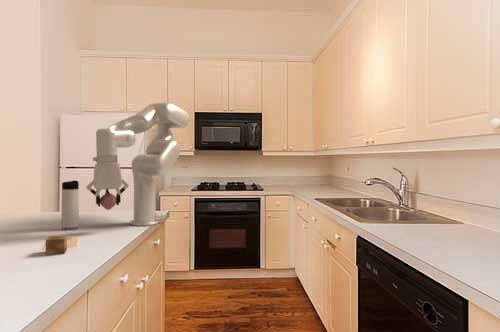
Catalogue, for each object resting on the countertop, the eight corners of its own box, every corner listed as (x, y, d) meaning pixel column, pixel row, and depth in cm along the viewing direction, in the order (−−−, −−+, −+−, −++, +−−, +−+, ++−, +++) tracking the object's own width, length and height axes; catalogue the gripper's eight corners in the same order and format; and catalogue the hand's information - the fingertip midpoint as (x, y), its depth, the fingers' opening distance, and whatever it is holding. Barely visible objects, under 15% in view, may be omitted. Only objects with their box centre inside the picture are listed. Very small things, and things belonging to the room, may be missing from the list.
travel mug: (82, 227, 144) (82, 180, 143) (72, 230, 137) (72, 181, 137) (68, 226, 144) (68, 180, 144) (58, 229, 138) (58, 181, 138)
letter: (77, 237, 125) (77, 237, 125) (77, 247, 111) (77, 246, 111) (46, 240, 120) (46, 239, 120) (41, 250, 107) (41, 249, 107)
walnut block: (66, 250, 108) (66, 235, 107) (64, 255, 103) (64, 238, 103) (48, 252, 106) (48, 236, 106) (45, 256, 101) (45, 240, 101)
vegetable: (97, 210, 134) (96, 185, 133) (112, 208, 138) (111, 184, 138) (104, 212, 130) (103, 186, 129) (119, 210, 134) (118, 185, 134)
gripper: (82, 161, 126) (84, 208, 127) (131, 160, 133) (132, 205, 134) (82, 160, 132) (84, 205, 133) (129, 159, 140) (130, 202, 141)
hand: (108, 204), depth 134 cm, fingers closed on vegetable, 6 cm apart
